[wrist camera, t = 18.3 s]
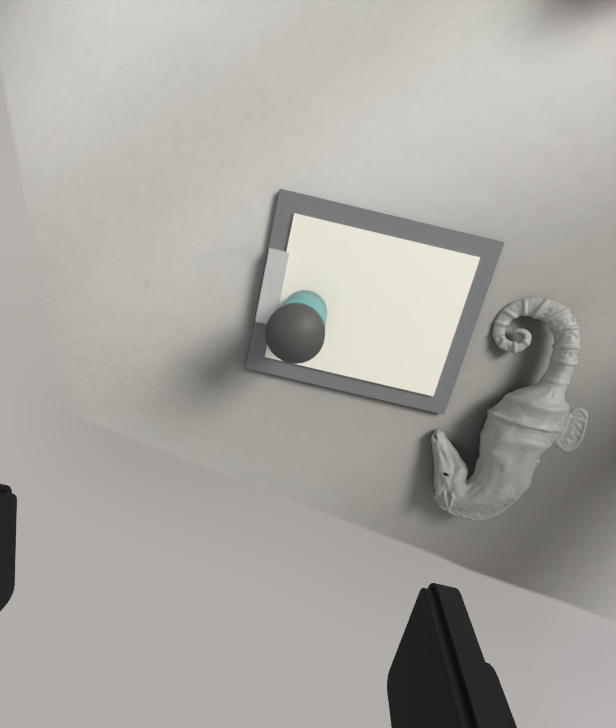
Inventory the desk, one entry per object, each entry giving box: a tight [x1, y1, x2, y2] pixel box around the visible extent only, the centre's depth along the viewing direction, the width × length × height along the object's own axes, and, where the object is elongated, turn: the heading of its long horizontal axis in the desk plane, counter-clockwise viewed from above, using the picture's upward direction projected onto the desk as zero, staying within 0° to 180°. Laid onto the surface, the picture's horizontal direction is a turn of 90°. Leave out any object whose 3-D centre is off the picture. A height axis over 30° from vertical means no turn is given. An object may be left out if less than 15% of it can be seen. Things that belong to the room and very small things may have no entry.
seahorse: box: [431, 297, 588, 521], centre depth 36 cm, size 5×12×20 cm
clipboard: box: [245, 189, 504, 414], centre depth 35 cm, size 18×15×2 cm
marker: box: [265, 290, 327, 364], centre depth 31 cm, size 4×4×10 cm
